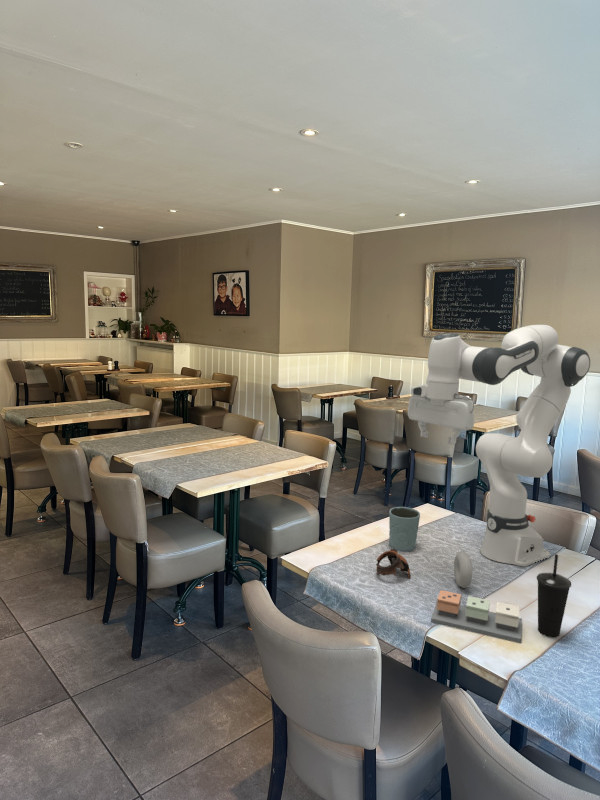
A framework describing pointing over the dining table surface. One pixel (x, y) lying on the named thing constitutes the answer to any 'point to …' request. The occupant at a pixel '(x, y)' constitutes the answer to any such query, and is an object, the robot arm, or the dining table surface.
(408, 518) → the green cylindrical pot
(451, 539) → the dining table surface
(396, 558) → the brown rounded piece
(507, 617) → the cream tile
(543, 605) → the drinking cup
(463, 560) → the donut
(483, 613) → the sage tile
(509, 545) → the robot arm
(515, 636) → the board
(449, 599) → the terracotta tile
